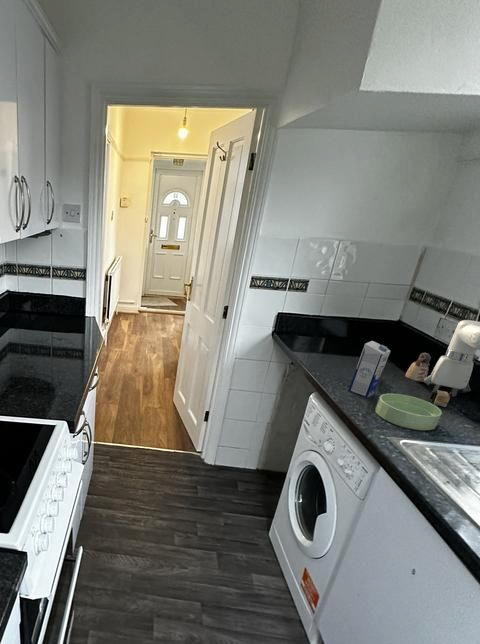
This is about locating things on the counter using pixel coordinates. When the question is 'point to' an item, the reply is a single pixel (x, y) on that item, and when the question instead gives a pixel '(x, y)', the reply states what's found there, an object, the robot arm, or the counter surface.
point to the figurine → (419, 368)
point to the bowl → (408, 411)
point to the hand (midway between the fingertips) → (439, 402)
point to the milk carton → (369, 369)
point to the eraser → (441, 398)
